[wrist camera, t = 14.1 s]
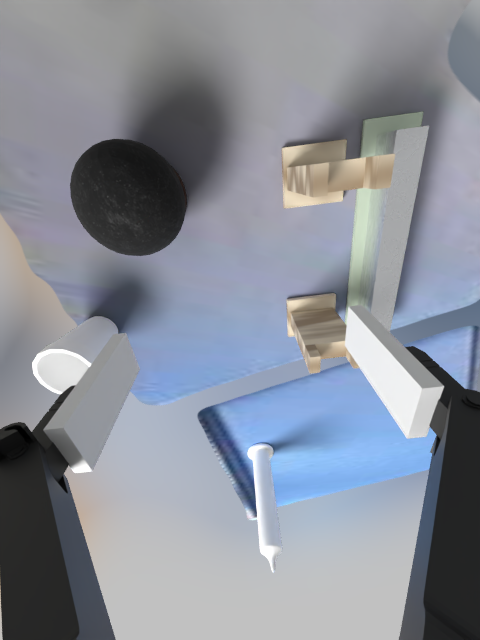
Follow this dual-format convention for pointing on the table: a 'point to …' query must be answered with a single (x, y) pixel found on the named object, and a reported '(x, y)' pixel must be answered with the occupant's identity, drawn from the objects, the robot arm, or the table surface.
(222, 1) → the table surface
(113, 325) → the foam cup
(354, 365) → the cradle posts
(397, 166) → the rail
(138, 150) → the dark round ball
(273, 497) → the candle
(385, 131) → the mat
